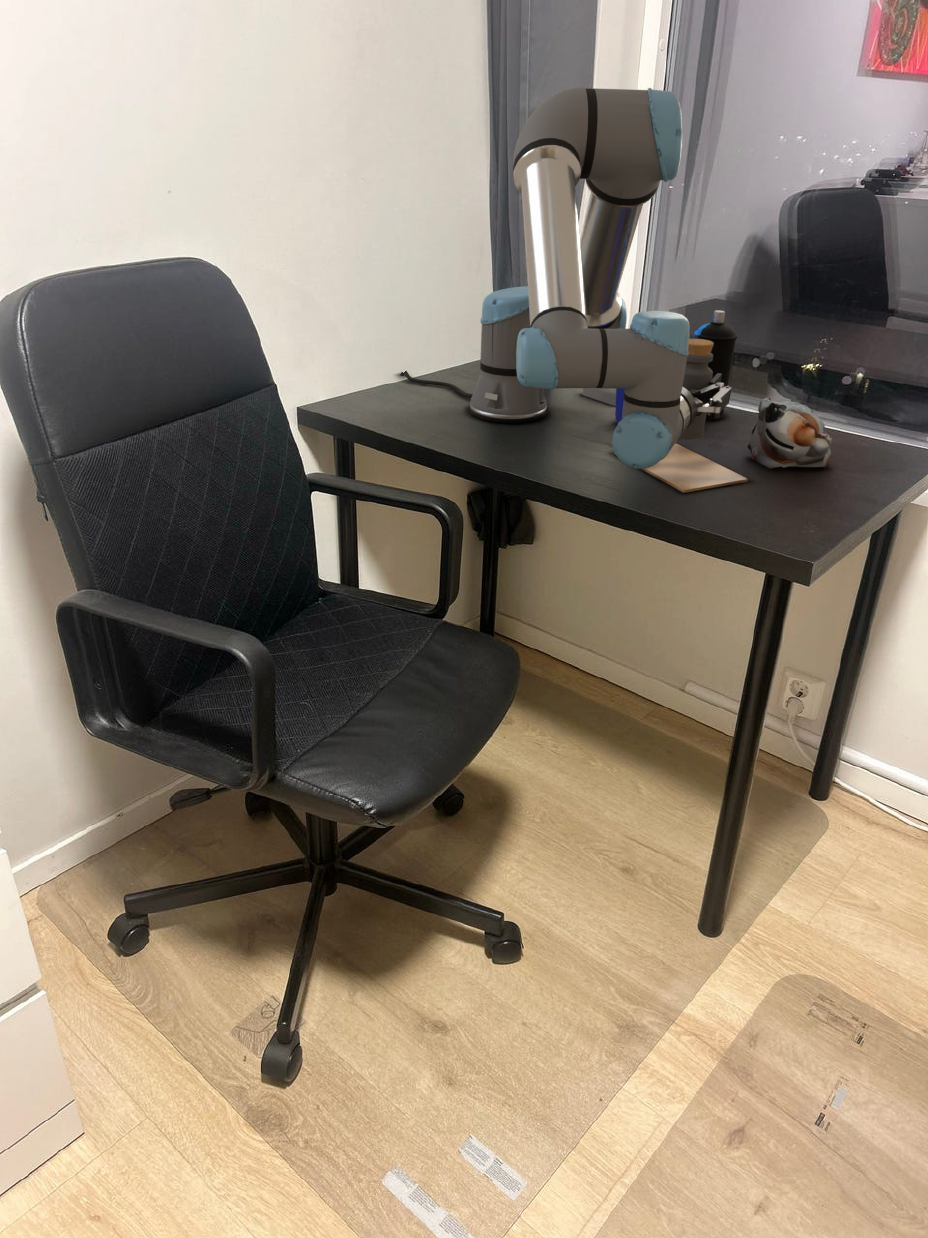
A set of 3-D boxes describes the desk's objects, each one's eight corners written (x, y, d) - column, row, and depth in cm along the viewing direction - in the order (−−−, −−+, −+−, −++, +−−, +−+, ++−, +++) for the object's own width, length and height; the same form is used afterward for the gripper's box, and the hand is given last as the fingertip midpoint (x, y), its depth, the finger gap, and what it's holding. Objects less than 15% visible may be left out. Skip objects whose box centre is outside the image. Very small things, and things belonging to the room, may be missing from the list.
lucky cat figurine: (843, 464, 152) (864, 405, 141) (796, 502, 149) (813, 445, 138) (775, 419, 159) (790, 360, 148) (729, 455, 157) (740, 397, 145)
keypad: (666, 377, 187) (616, 388, 179) (664, 394, 189) (614, 405, 181) (634, 368, 193) (584, 377, 186) (632, 384, 195) (582, 395, 187)
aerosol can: (720, 409, 180) (738, 307, 170) (727, 421, 173) (745, 316, 163) (680, 407, 180) (694, 306, 171) (684, 419, 173) (700, 314, 163)
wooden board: (613, 453, 155) (614, 451, 155) (673, 444, 160) (674, 442, 160) (683, 492, 140) (684, 490, 139) (747, 481, 144) (748, 478, 144)
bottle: (663, 436, 145) (675, 343, 137) (671, 426, 149) (684, 336, 142) (698, 441, 142) (713, 347, 135) (706, 432, 147) (720, 340, 140)
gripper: (600, 430, 133) (640, 394, 151) (726, 449, 126) (752, 409, 144) (605, 381, 129) (645, 349, 147) (735, 397, 122) (760, 362, 141)
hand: (698, 379), depth 146 cm, fingers closed on bottle, 6 cm apart
